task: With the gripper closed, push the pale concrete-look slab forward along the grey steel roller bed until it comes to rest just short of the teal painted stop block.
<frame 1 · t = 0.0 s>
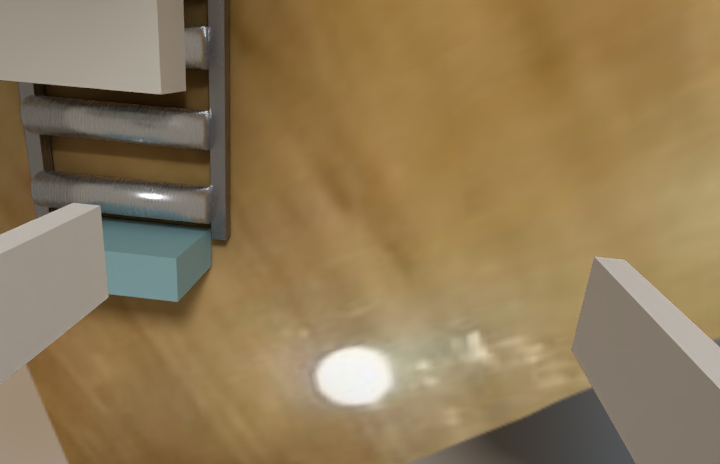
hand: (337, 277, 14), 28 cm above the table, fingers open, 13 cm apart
stop block: (138, 239, 45), on the table
roller bed: (125, 41, 39), on the table
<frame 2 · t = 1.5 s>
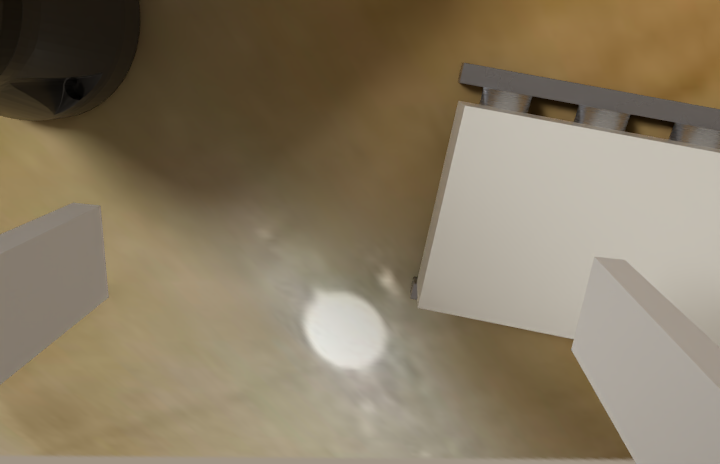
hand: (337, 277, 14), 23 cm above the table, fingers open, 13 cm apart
slab: (587, 233, 30), point 5 cm above the table, slide at 0.0 cm
roller bed: (651, 227, 35), on the table
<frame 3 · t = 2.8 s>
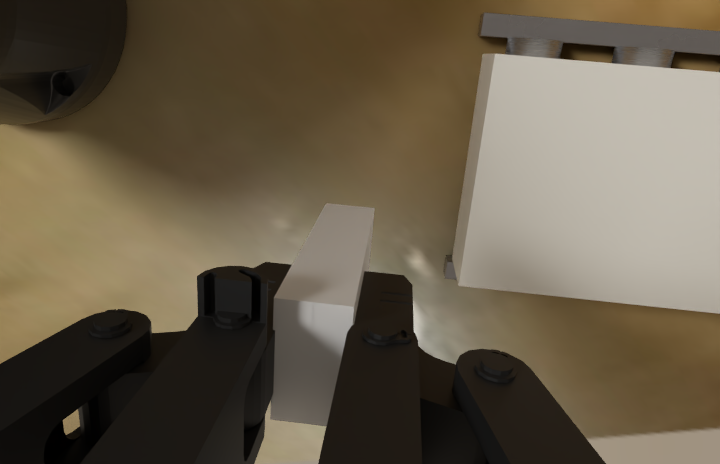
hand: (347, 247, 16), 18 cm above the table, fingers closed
slab: (639, 186, 27), point 5 cm above the table, slide at 0.0 cm
roller bed: (702, 176, 32), on the table
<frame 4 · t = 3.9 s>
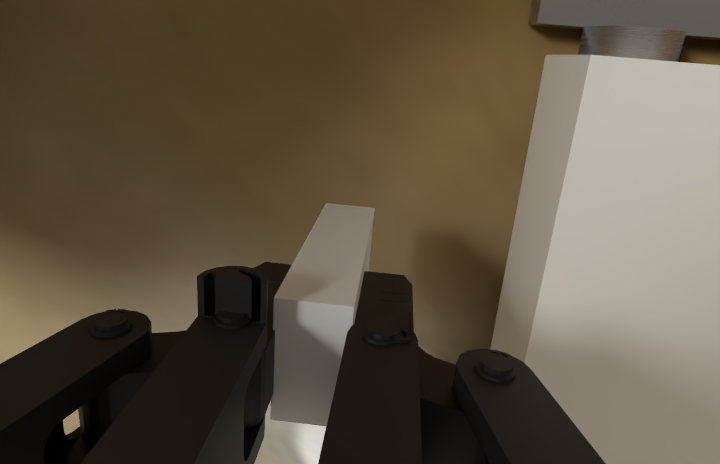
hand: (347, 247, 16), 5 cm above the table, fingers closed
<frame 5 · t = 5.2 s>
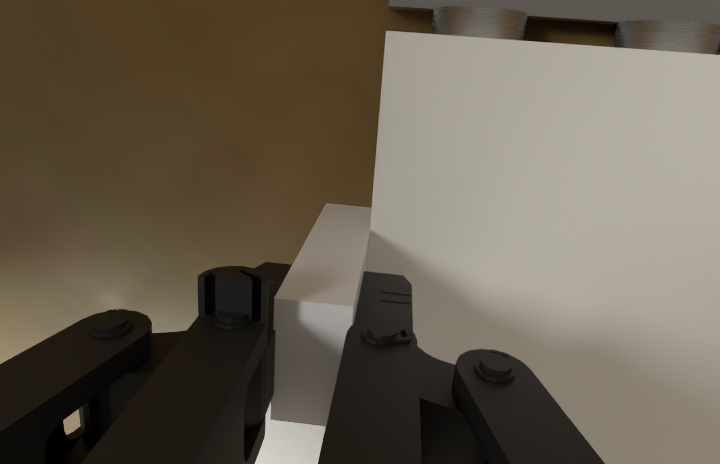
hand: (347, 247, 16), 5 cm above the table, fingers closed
slab: (670, 270, 15), point 5 cm above the table, slide at 0.2 cm, touching gripper
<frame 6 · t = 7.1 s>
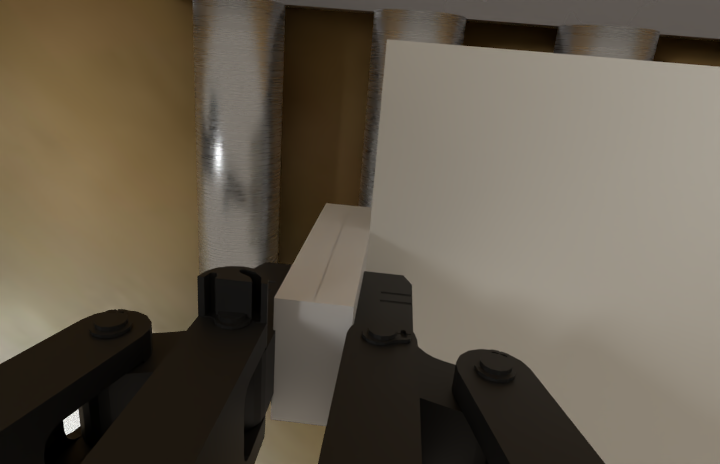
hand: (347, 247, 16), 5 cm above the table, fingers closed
slab: (672, 282, 15), point 5 cm above the table, slide at 8.2 cm, touching gripper
roller bed: (551, 222, 20), on the table
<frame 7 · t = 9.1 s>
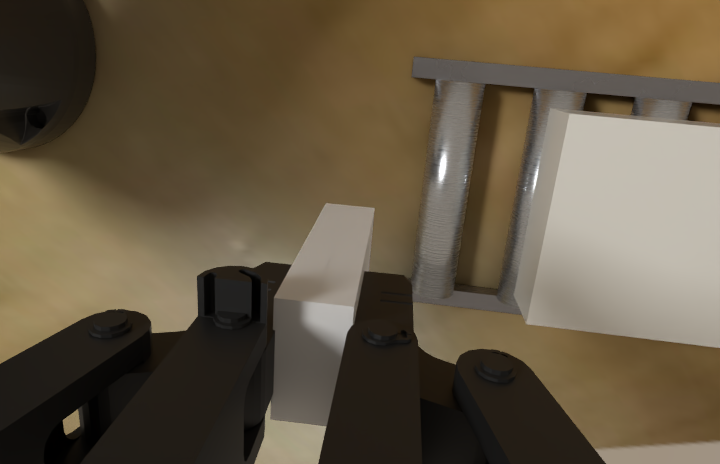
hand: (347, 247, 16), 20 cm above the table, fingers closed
slab: (699, 233, 29), point 5 cm above the table, slide at 8.2 cm
roller bed: (624, 206, 34), on the table
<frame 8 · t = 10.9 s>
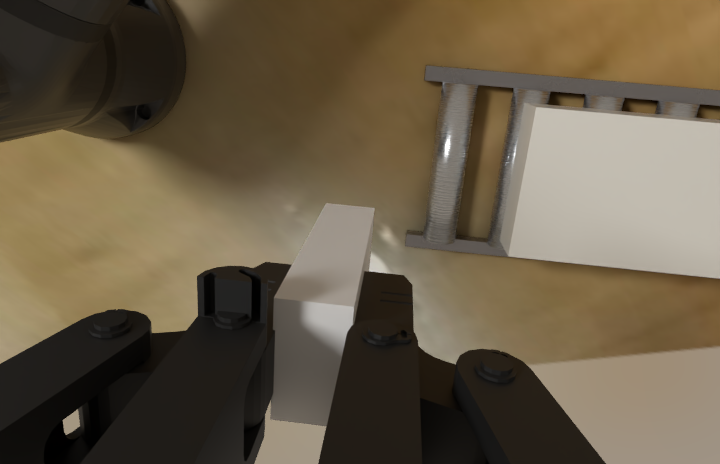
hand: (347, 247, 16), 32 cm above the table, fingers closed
slab: (628, 190, 42), point 5 cm above the table, slide at 8.2 cm
roller bed: (580, 174, 46), on the table
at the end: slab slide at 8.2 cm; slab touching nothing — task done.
